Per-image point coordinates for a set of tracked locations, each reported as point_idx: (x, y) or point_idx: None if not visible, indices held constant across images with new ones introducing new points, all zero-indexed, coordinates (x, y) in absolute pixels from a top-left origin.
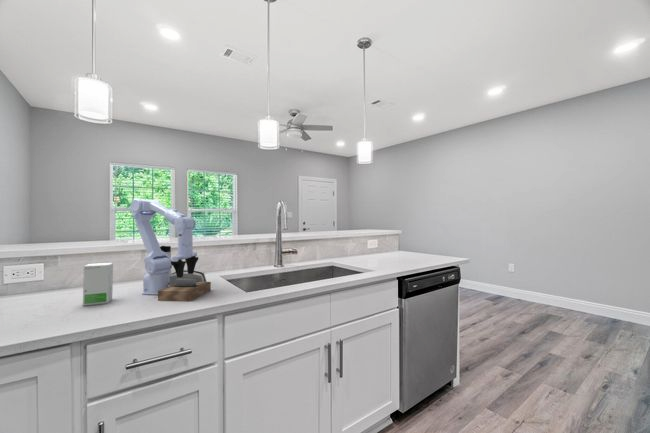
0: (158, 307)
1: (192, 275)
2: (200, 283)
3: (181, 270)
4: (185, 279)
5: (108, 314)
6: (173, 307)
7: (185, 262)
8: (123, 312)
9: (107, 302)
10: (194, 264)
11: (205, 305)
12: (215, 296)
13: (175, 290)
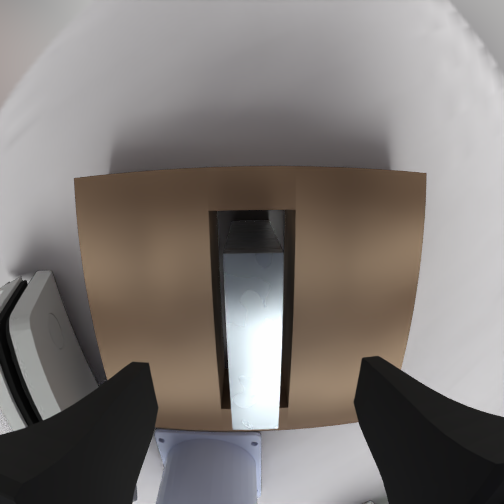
0: (475, 290)
1: (58, 391)
2: (144, 239)
3: (439, 400)
4: (259, 359)
5: (496, 403)
6: (482, 209)
7: (501, 453)
8: (494, 377)
9: (372, 502)
10: (83, 426)
11: (442, 42)
12: (266, 44)
13: (397, 314)
